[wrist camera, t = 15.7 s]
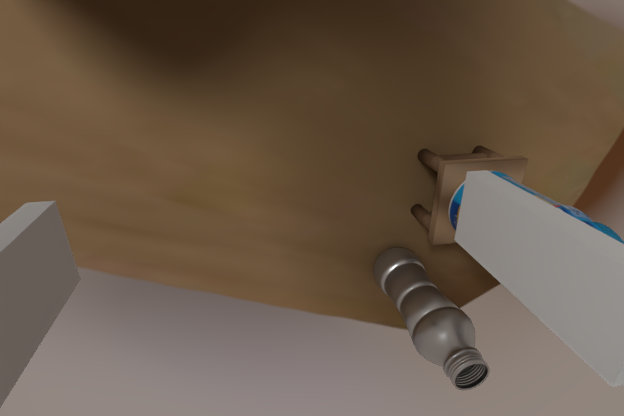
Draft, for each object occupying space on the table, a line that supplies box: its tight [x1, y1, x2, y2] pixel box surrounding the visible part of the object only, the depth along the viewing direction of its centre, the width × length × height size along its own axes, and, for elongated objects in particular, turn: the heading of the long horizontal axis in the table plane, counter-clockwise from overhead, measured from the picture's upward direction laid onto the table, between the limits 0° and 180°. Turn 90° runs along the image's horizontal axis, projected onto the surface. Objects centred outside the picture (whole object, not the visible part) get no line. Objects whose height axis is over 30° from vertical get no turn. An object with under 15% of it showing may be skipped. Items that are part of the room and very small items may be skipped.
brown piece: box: [411, 146, 528, 245], centre depth 46 cm, size 10×10×7 cm
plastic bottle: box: [373, 247, 489, 390], centre depth 44 cm, size 6×7×20 cm
